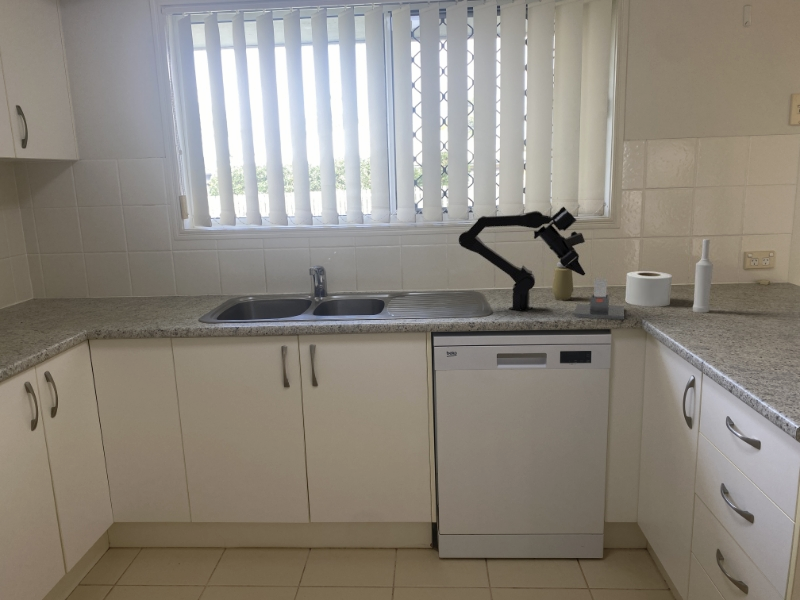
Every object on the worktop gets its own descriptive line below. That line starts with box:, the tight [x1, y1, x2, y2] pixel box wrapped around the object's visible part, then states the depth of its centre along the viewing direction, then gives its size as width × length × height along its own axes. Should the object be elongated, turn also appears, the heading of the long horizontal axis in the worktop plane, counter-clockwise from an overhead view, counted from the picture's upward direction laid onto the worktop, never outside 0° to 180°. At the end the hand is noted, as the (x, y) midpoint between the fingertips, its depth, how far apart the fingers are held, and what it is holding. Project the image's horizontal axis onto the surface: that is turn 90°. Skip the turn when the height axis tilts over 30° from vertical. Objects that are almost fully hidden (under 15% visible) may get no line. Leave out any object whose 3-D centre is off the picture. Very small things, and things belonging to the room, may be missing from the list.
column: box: [593, 277, 608, 298], centre depth 202 cm, size 4×4×11 cm
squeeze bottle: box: [551, 261, 574, 301], centre depth 226 cm, size 8×8×18 cm
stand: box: [573, 293, 625, 320], centre depth 202 cm, size 16×16×6 cm
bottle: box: [692, 238, 714, 314], centre depth 199 cm, size 5×5×25 cm
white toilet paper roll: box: [625, 270, 673, 308], centre depth 217 cm, size 16×15×11 cm
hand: (583, 272), depth 205 cm, fingers open, 9 cm apart
